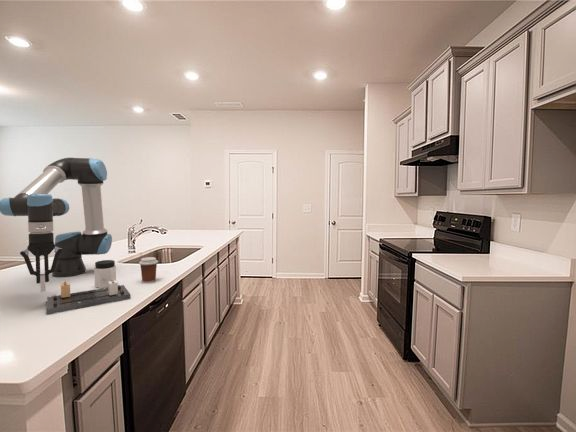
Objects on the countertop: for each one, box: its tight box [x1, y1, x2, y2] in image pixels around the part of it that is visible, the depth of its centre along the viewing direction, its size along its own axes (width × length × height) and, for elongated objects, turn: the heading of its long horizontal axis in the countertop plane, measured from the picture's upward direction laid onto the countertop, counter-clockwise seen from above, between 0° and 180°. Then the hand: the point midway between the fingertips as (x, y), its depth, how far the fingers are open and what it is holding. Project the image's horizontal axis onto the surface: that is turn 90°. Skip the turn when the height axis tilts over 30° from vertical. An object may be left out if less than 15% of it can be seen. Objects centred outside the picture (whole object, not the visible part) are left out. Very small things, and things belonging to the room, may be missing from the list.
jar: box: [93, 259, 117, 289], centre depth 141 cm, size 9×8×12 cm
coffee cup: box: [138, 256, 159, 284], centre depth 150 cm, size 9×9×12 cm
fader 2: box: [107, 279, 119, 295], centre depth 124 cm, size 4×3×6 cm
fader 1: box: [60, 281, 71, 298], centre depth 120 cm, size 4×3×6 cm
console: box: [46, 284, 131, 315], centre depth 122 cm, size 16×28×3 cm, turn 129°
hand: (43, 290), depth 115 cm, fingers closed
